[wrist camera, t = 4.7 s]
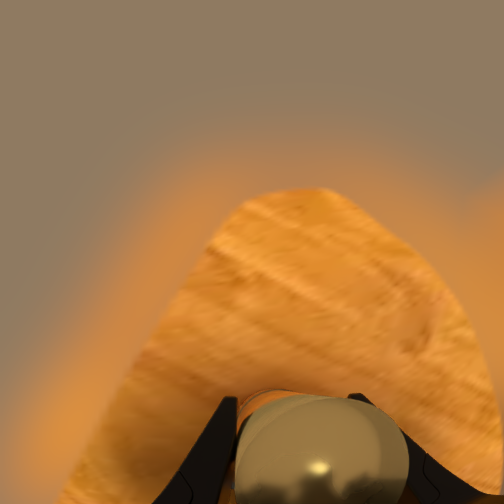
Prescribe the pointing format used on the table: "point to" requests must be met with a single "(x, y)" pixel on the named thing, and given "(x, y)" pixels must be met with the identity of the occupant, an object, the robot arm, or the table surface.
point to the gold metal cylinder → (317, 451)
